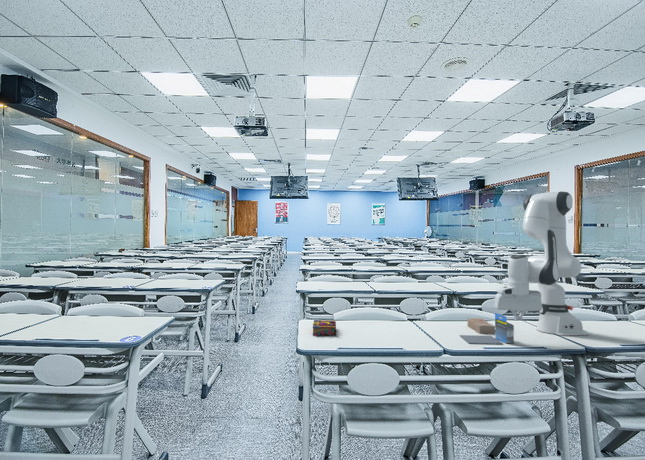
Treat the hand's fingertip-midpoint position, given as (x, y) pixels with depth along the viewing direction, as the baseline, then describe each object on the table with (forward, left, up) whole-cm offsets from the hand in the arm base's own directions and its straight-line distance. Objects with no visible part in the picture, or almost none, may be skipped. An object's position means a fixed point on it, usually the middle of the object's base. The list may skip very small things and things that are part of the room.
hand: (518, 320), depth 171 cm
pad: (+17, -1, -10) cm, 19 cm away
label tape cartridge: (+6, 0, -10) cm, 12 cm away
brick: (+9, -21, -10) cm, 25 cm away
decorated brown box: (+90, -10, -10) cm, 91 cm away
